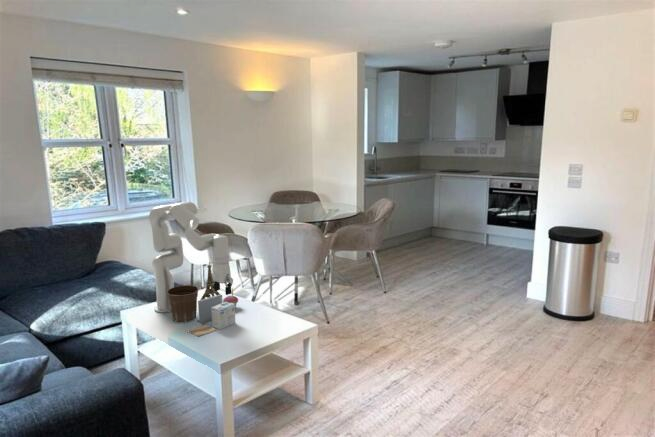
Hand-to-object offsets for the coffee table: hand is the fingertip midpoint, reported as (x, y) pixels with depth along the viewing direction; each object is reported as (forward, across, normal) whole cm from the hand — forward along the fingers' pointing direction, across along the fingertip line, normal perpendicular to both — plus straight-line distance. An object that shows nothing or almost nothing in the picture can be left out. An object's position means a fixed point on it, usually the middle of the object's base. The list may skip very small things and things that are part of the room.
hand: (222, 292), depth 233 cm
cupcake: (+18, -17, +17) cm, 30 cm away
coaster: (+18, -2, -12) cm, 21 cm away
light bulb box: (+18, 0, 0) cm, 18 cm away
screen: (+18, -12, 0) cm, 21 cm away
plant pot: (+18, -23, -9) cm, 31 cm away
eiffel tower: (+18, -40, +19) cm, 48 cm away
